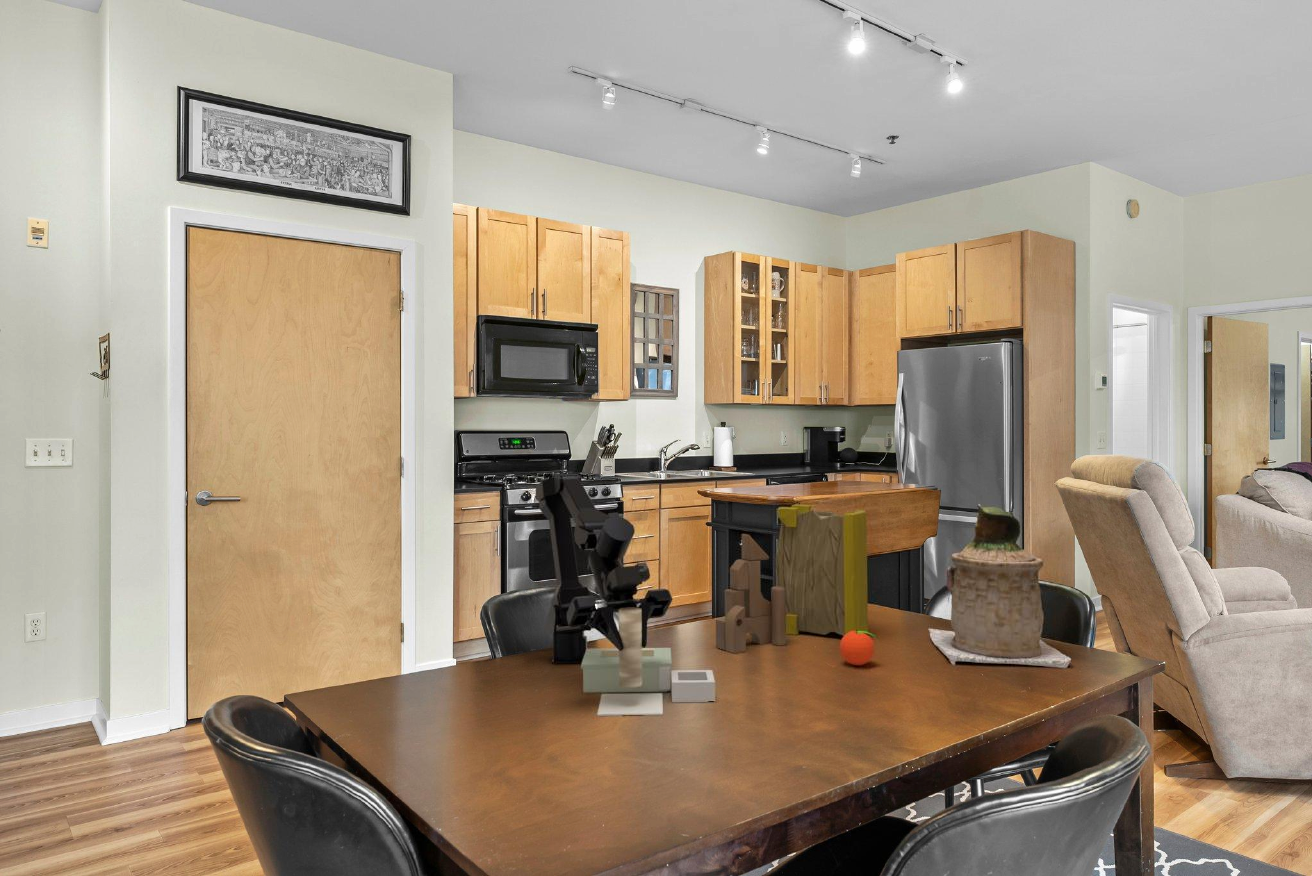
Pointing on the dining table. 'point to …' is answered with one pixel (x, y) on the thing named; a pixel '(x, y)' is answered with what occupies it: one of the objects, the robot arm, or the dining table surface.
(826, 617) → the decorative book
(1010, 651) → the cookie jar
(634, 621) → the beige cylinder
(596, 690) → the pale green box
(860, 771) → the dining table surface
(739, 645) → the wooden toy
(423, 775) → the dining table surface
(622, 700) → the mat
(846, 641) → the clementine
